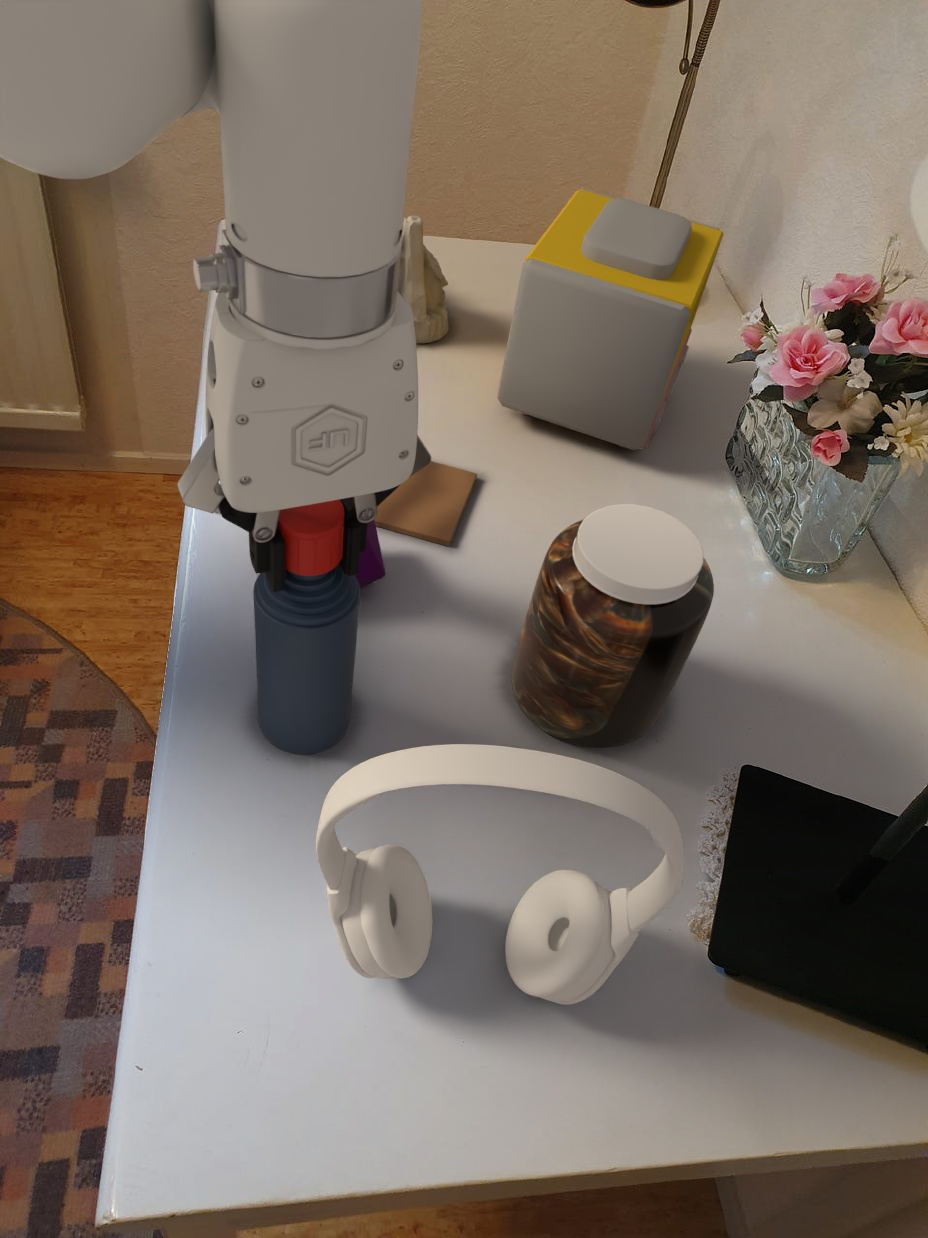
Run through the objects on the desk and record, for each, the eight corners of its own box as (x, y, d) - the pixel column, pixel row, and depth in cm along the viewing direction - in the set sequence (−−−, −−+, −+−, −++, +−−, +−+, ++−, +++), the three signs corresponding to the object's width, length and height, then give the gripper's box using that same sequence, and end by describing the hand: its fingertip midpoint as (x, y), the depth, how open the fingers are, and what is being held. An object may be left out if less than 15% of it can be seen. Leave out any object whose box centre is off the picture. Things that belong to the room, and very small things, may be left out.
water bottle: (243, 739, 64) (231, 542, 50) (278, 671, 68) (277, 473, 54) (331, 765, 63) (344, 574, 50) (361, 695, 68) (380, 502, 54)
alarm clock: (640, 473, 90) (702, 299, 77) (489, 422, 93) (523, 244, 79) (678, 376, 103) (737, 213, 90) (545, 333, 106) (583, 168, 92)
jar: (629, 777, 66) (697, 639, 55) (485, 703, 69) (522, 557, 58) (681, 671, 74) (750, 531, 63) (550, 608, 76) (594, 463, 65)
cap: (271, 574, 52) (270, 531, 50) (276, 528, 55) (276, 484, 52) (341, 578, 53) (343, 535, 50) (343, 532, 55) (345, 489, 53)
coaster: (338, 515, 80) (338, 510, 80) (374, 450, 87) (374, 445, 87) (449, 546, 80) (449, 541, 79) (476, 478, 86) (477, 473, 86)
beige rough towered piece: (450, 349, 100) (463, 207, 90) (296, 339, 99) (292, 193, 88) (446, 286, 111) (457, 154, 101) (308, 276, 110) (305, 140, 99)
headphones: (324, 874, 58) (336, 674, 43) (612, 915, 59) (720, 732, 44) (302, 989, 53) (306, 807, 38) (616, 1031, 54) (738, 869, 39)
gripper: (139, 341, 36) (179, 645, 50) (515, 301, 42) (460, 582, 56) (103, 248, 40) (149, 552, 54) (449, 225, 47) (413, 502, 60)
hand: (308, 564), depth 55 cm, fingers closed on cap, 3 cm apart
